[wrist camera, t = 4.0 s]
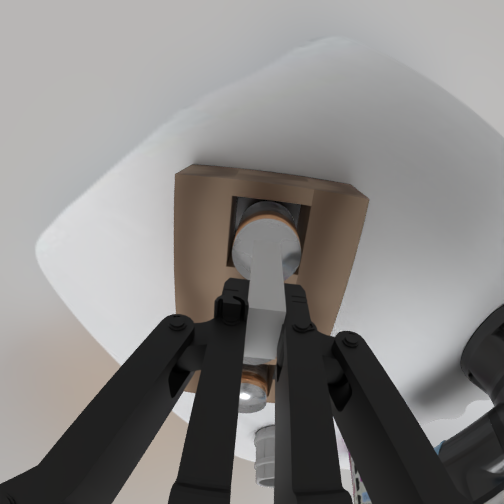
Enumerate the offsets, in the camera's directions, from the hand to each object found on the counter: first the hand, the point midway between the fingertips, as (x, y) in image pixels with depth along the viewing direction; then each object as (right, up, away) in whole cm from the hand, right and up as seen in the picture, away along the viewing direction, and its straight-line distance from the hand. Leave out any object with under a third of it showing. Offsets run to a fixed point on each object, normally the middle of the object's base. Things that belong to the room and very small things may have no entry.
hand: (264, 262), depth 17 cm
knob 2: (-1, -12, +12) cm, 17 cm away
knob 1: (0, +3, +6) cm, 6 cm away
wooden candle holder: (0, -3, +12) cm, 12 cm away
